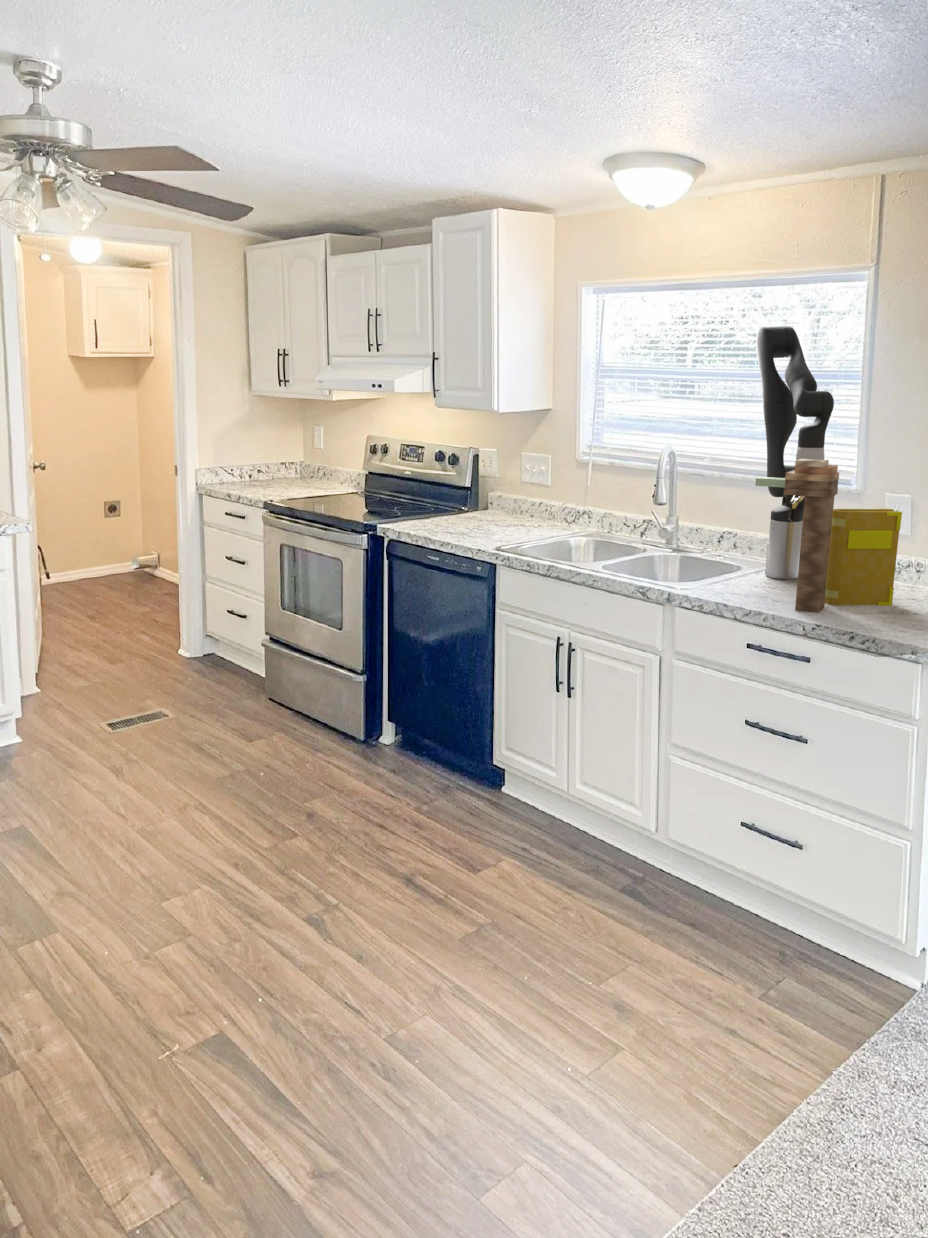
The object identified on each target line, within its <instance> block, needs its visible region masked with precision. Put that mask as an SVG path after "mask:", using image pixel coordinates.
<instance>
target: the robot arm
mask: <svg viewBox="0 0 928 1238" xmlns="http://www.w3.org/2000/svg"><path fill="white" fill-rule="evenodd" d="M755 337H756V338H755V348H756V355H757V357H756V358H757V362H758V367H759V373H760V379H761V389H762V390H761V391H762V407H763V418H764V429H765V438H766V471H767V472H766V474H767V475H766V477H774V478H785V475H786V473H787V472H789V471H792V470H795V465H785V461H784V455H785V453H784V452H785V448H786V444H787V443H788V440H789V439H790V437H791V435H792V433H793V431H794V430H795V427H796V425H797V421H798V416H799V417H802V418H814V420H813V422H812V423H811V424H809V425H805V426H801V427H800V428H799V430H798V438H797V450H796V455H795V456H796V457H795V460H798V459H819V460H825V442H826V440H825V439H826V438H825V437H826V432H827V428H828V426H829V425H828V424H829V421H830V418H831V416H832V414H833V410H834V406H835V400H834V397H833V395H832V393H831V392H829V391H825V390H818V384H817V381H816V379H815V377H814V375H813V374H812V372H811V369H809V367H808V364H807V363H806V358H805V356H804V353H803V349H802V345H801V343H800V339H799V336H798V334H797V332H796V329H795V328H793V327H792V326H790V325H774V326H773V325H769V326H762V327H760V328H758V331H757V332H756V336H755ZM781 358H782V359H783V358H786V359H788V361H789V362H788V364H787V365H786V367H785V372H784V379H785V381H784V379H782V377H781V376H780V374H779V372H778V369H777V368H776V367H777V366H776V364H775V360H774V359H781ZM784 489H785V488H783V487H767V490H768V492H769V493H770V495H771V496H772V497H773V498H781V499H782V501H781V505H779V506H777V507H774V508H773V509H771V512H770V523H769V536H768V537H769V538H768V543H767V544H766V555H765V558H766V559H765V572H764V574H765V575H766V577H769V578H772V579H778V580H793V579H794V580H795V579H798V570H799V558H800V547H801V535H802V523H803V511H804V499H805V496H797V495H784Z"/></svg>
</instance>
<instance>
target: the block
mask: <svg viewBox="0 0 928 1238" xmlns="http://www.w3.org/2000/svg"><path fill="white" fill-rule="evenodd" d="M785 480H786V479H785V478H774V477H767V476H758V477H756V478H755V484H754V485H755V487H767V488H768V487H783V488H785Z"/></svg>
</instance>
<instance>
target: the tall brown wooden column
mask: <svg viewBox="0 0 928 1238" xmlns="http://www.w3.org/2000/svg"><path fill="white" fill-rule="evenodd" d="M829 462H830V461H829V459H824V460H819V459H798V460H796V459H795V461H794V466H795V470H792V471H789V472H787V473H786V475H785V479H786V480H785V489H784V495H797V496H805V499H804V511H803V523H802V535H801V547H800V558H799V570H798V578H797V584H796V595H795V596H796V597H795V598H796V599H795V607H794V610H795V611H798V612H806V613H814V614H816V613H817V614H820V613H821V612H822V611H823V609H825V606H826V605H825V604H826V603H825V594H826V583H827V572H828V561H829V550H830V539H831V528H832V517H833V509H834V505H835V502H834V501H835V496H836V495H838V494H839V493H838V491H839V489H838V486H839V479H840V472H838V467H839V465H838V464H829Z"/></svg>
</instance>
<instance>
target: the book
mask: <svg viewBox="0 0 928 1238" xmlns="http://www.w3.org/2000/svg"><path fill="white" fill-rule="evenodd" d="M902 515H903V512H902V511H900V510H899V511H897V510H896V511H895V509H894V508H833V517H832V528H831V539H830V550H829V561H828V572H827V583H826V594H825V604H826V605H832V606H880V607H881V606H882V607H884V606H887V607H888V606H889V607H890V606H893V597H894V589H895V588H894V582H895V574H896V564H897V555H898V544H899V537H900V536H899V535H900V531H901V525H902V523H901V522H902Z"/></svg>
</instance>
